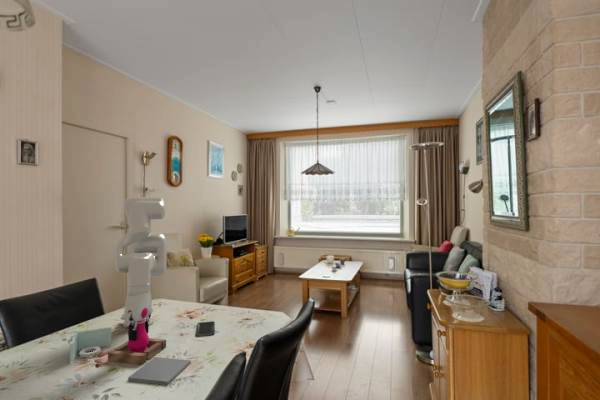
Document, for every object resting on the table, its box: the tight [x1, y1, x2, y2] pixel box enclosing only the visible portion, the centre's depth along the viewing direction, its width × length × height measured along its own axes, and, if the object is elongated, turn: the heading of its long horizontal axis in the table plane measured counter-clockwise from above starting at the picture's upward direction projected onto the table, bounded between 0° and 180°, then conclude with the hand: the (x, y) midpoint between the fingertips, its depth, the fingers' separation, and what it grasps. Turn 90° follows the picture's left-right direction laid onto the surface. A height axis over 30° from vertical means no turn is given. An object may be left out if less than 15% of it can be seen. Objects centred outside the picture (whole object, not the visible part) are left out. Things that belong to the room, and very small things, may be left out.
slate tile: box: [127, 356, 192, 386], centre depth 108 cm, size 14×14×1 cm
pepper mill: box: [127, 308, 150, 353], centre depth 121 cm, size 7×7×20 cm
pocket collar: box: [107, 337, 167, 366], centre depth 120 cm, size 14×14×3 cm
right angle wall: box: [69, 326, 112, 364], centre depth 121 cm, size 12×12×8 cm
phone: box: [195, 320, 216, 338], centre depth 145 cm, size 8×1×15 cm
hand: (138, 336), depth 120 cm, fingers closed on pepper mill, 5 cm apart
